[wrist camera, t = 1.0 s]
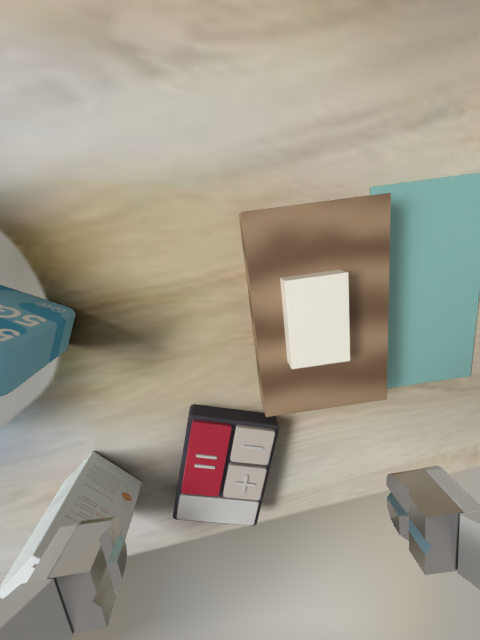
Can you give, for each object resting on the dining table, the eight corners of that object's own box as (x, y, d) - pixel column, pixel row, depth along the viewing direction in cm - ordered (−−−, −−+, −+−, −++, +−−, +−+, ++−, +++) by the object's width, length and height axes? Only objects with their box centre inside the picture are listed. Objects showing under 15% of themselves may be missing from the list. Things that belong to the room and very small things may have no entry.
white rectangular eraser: (280, 277, 29) (284, 281, 27) (339, 269, 29) (348, 272, 27) (287, 361, 32) (291, 369, 30) (342, 353, 32) (350, 360, 30)
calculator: (281, 429, 35) (257, 532, 38) (274, 410, 39) (253, 504, 42) (188, 418, 34) (171, 525, 37) (191, 399, 38) (176, 497, 41)
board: (239, 214, 31) (241, 212, 27) (370, 197, 31) (390, 192, 28) (261, 398, 37) (265, 417, 34) (369, 382, 38) (386, 399, 34)
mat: (370, 187, 31) (371, 186, 31) (490, 171, 31) (492, 171, 31) (369, 389, 38) (370, 390, 38) (468, 374, 38) (470, 375, 38)
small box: (64, 480, 39) (-9, 596, 27) (93, 449, 38) (31, 555, 26) (115, 510, 41) (69, 632, 28) (144, 481, 40) (109, 595, 27)
